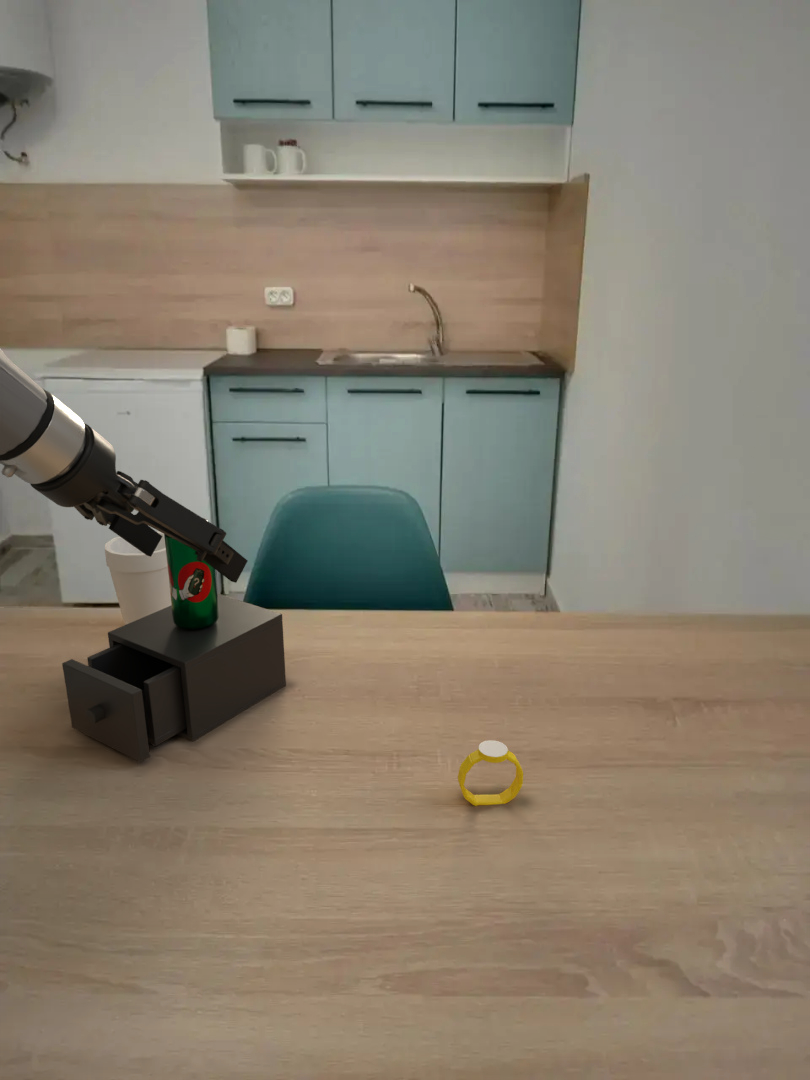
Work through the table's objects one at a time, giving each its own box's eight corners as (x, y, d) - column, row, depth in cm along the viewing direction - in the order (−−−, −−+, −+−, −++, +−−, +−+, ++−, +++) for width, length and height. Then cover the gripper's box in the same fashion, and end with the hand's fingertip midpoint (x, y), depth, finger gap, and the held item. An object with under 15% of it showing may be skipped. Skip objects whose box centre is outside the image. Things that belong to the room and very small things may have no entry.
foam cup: (169, 650, 108) (159, 557, 104) (103, 645, 110) (90, 553, 105) (197, 619, 117) (189, 533, 113) (136, 615, 118) (126, 529, 114)
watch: (461, 814, 77) (462, 759, 75) (455, 795, 80) (456, 742, 78) (523, 808, 78) (527, 754, 76) (516, 790, 80) (519, 737, 78)
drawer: (130, 768, 82) (121, 699, 80) (61, 732, 88) (51, 667, 86) (238, 705, 94) (233, 642, 91) (170, 677, 100) (164, 618, 97)
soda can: (228, 619, 95) (221, 519, 91) (197, 636, 90) (187, 532, 86) (196, 610, 97) (187, 512, 93) (163, 626, 93) (153, 524, 89)
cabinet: (192, 743, 88) (184, 663, 85) (117, 708, 95) (107, 632, 92) (286, 687, 99) (282, 613, 96) (213, 658, 106) (207, 589, 103)
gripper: (-42, 466, 81) (106, 563, 97) (124, 511, 68) (262, 615, 84) (1, 404, 83) (138, 509, 100) (169, 436, 70) (295, 551, 87)
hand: (195, 558), depth 92 cm, fingers open, 13 cm apart
